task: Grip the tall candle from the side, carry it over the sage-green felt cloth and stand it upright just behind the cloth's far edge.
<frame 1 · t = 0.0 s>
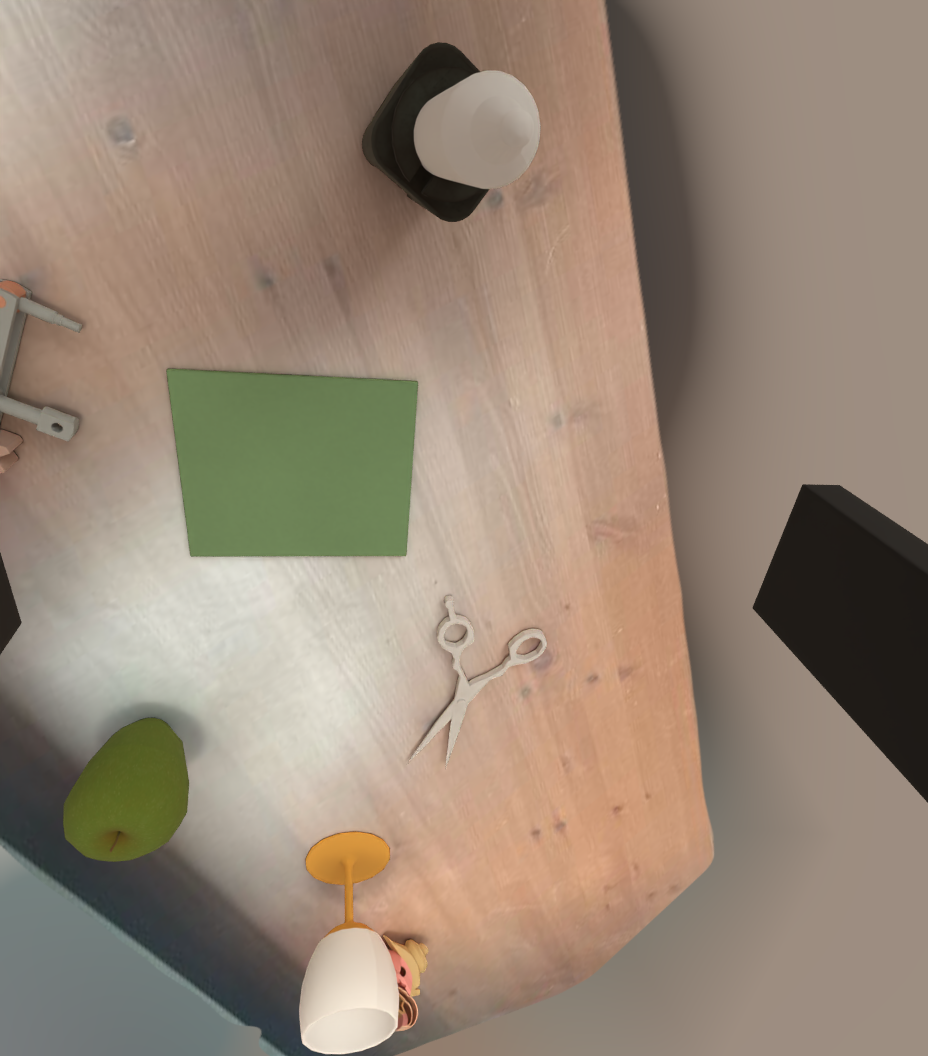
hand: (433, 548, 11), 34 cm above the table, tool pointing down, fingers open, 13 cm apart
candle: (415, 141, 37), on the table
clamp: (6, 342, 38), on the table
scissors: (461, 689, 59), on the table
green rounded fruit: (153, 727, 55), on the table
cup: (348, 855, 69), on the table
cloth: (299, 470, 46), on the table
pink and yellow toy: (386, 949, 80), on the table
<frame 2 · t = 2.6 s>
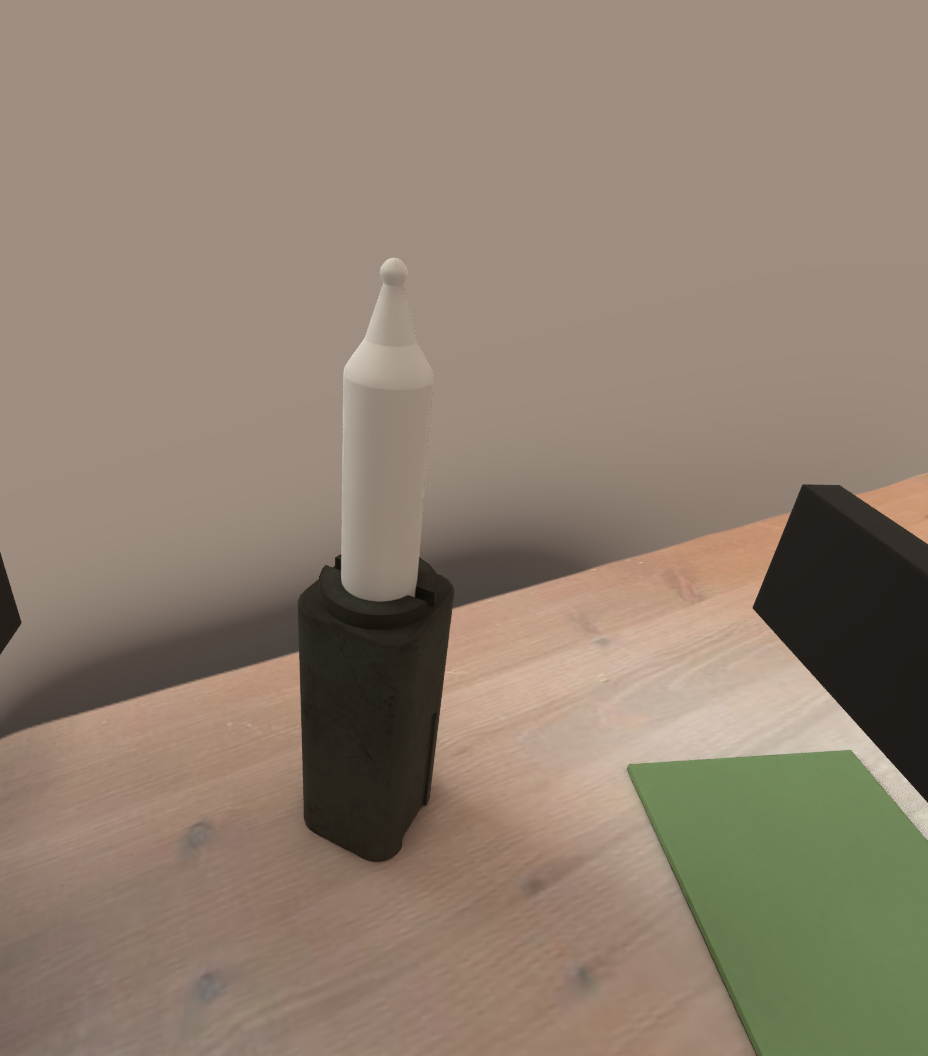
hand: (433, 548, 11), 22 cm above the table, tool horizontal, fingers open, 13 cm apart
candle: (368, 805, 31), on the table
cloth: (833, 903, 29), on the table
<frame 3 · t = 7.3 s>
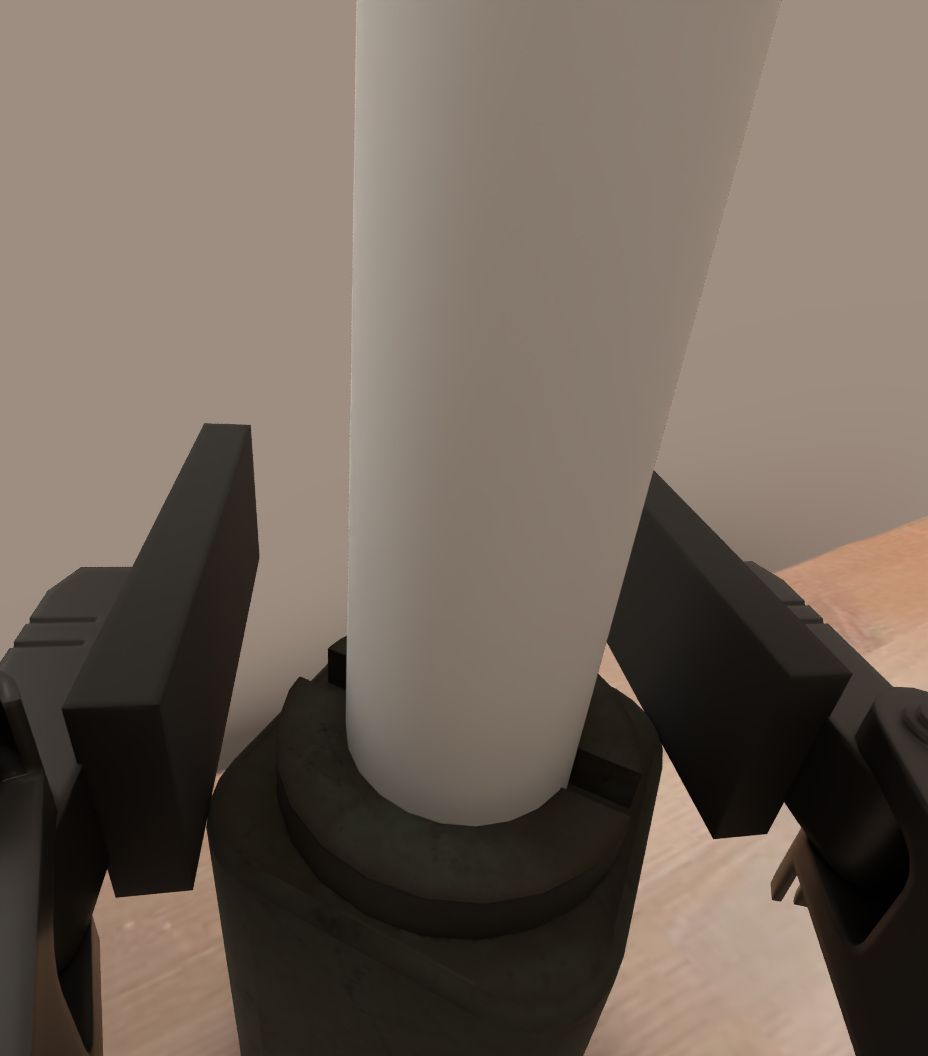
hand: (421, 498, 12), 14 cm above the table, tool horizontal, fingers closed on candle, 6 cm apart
when the fingers open (14 cm above the table, at t = 15.2 s): candle stays where it is, on the table.
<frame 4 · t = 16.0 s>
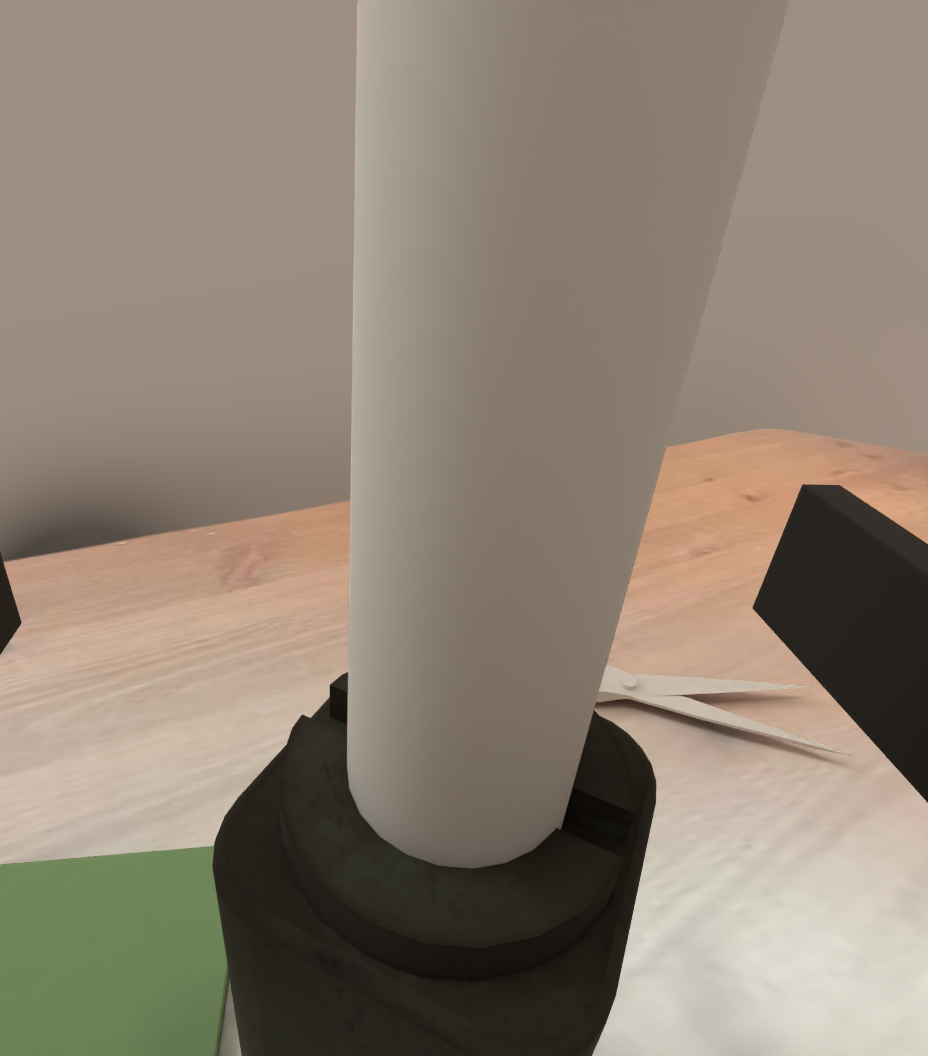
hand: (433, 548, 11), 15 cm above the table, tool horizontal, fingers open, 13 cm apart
scissors: (608, 697, 29), on the table
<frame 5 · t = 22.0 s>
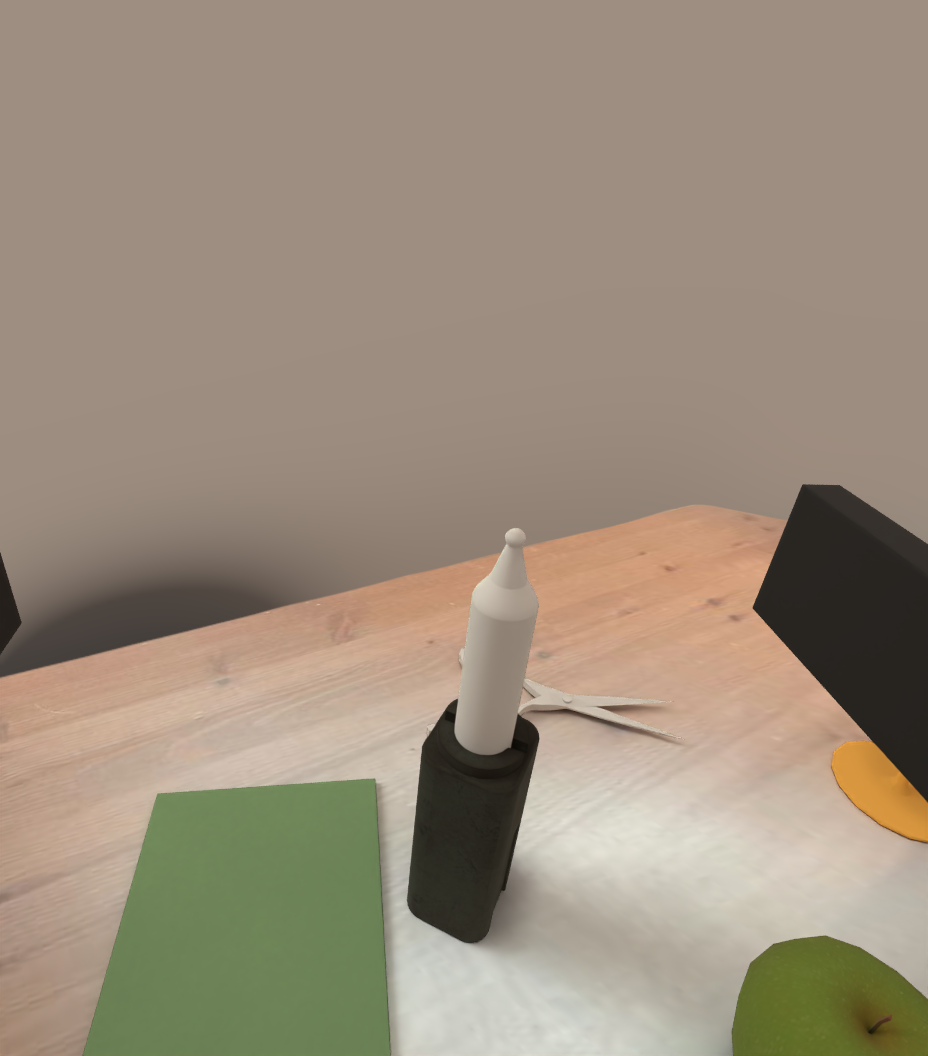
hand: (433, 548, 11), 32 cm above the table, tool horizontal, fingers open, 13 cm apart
candle: (457, 891, 38), on the table
scissors: (556, 707, 52), on the table
cup: (894, 791, 48), on the table
cloth: (256, 910, 36), on the table
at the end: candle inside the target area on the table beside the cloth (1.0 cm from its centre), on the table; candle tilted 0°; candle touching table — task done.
